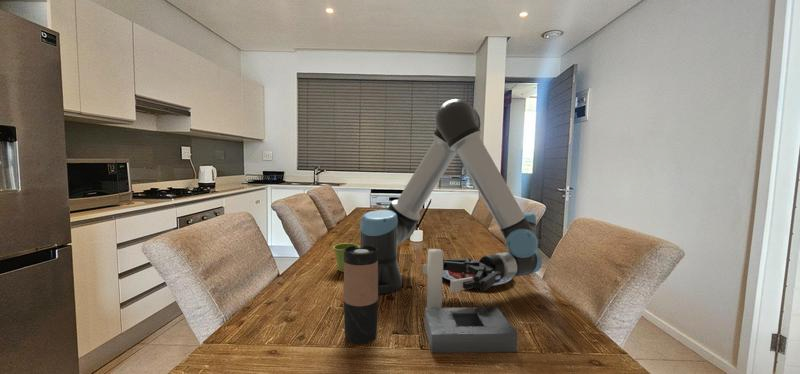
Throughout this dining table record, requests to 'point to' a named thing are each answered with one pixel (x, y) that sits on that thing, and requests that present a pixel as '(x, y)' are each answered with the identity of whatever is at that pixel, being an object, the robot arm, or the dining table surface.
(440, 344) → the hole block
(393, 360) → the dining table surface
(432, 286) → the peg
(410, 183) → the robot arm
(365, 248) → the travel mug
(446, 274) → the ceramic plate
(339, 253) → the plant pot
